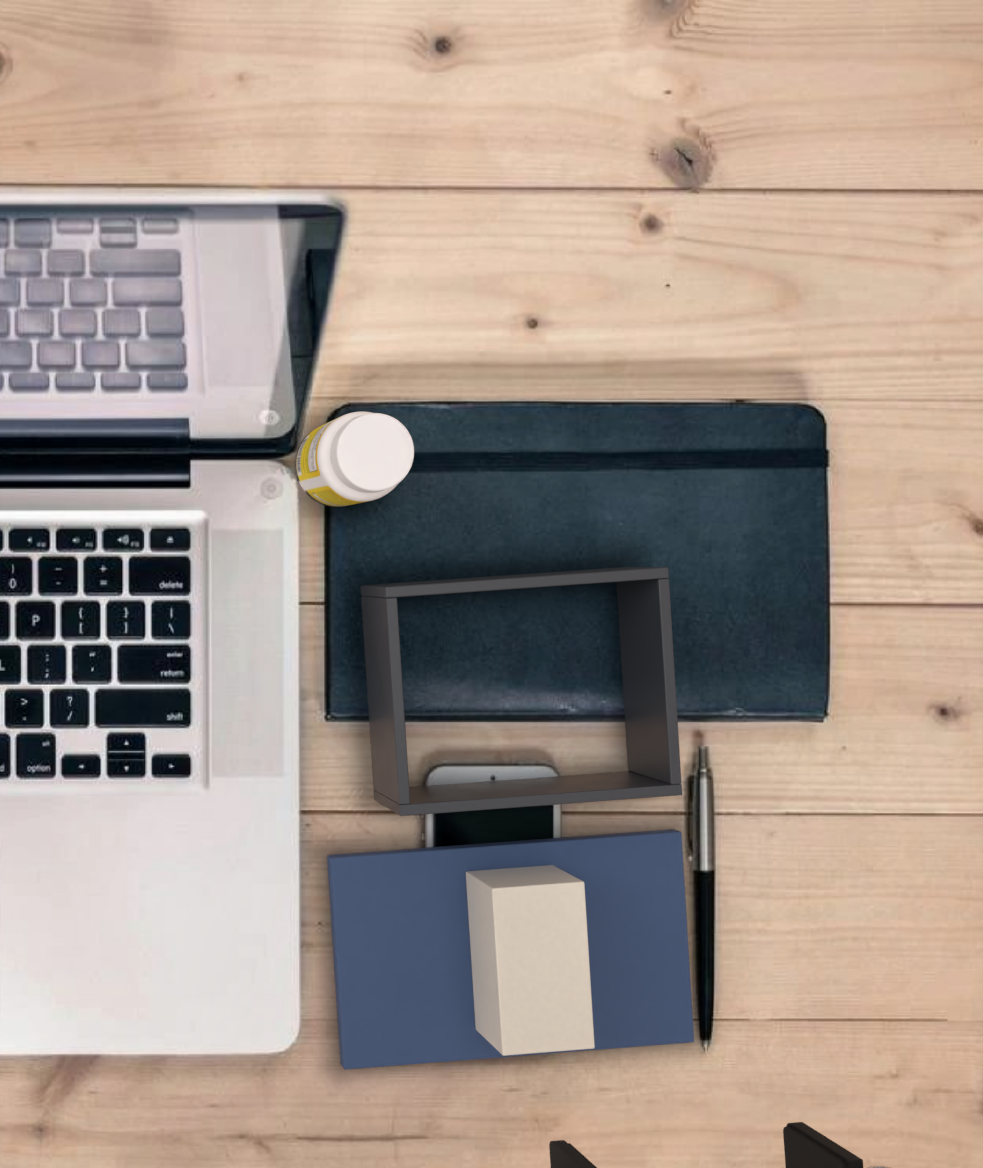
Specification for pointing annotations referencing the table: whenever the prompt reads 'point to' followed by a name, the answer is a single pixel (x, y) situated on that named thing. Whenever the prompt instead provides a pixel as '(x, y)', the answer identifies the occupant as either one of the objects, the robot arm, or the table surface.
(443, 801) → the dark grey rectangular frame
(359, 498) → the supplement bottle
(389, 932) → the pad
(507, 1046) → the block
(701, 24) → the table surface
